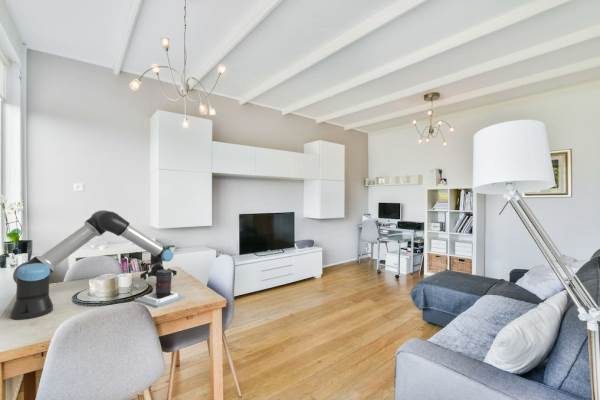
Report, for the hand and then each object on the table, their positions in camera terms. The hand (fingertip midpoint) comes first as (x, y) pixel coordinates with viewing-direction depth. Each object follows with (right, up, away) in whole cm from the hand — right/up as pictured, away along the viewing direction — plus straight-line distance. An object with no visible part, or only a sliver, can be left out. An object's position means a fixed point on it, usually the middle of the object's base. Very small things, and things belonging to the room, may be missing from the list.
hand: (160, 277), depth 169 cm
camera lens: (+5, -10, -6) cm, 12 cm away
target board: (+4, -11, -7) cm, 13 cm away
